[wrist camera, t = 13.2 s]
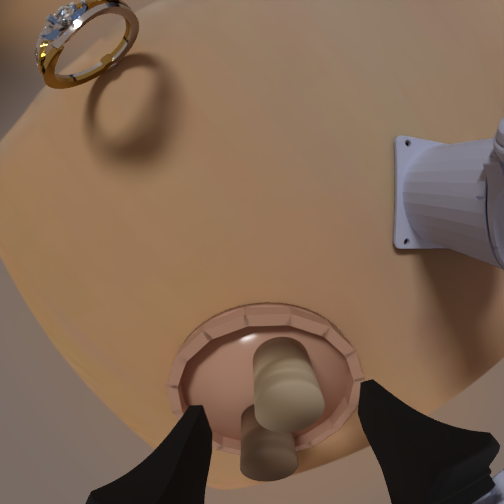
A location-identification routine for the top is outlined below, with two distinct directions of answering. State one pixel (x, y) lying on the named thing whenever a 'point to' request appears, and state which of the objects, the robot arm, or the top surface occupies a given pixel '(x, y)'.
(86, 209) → the top surface
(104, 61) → the ring
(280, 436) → the brown short cylinder
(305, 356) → the beige tall rounded piece
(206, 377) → the dish
